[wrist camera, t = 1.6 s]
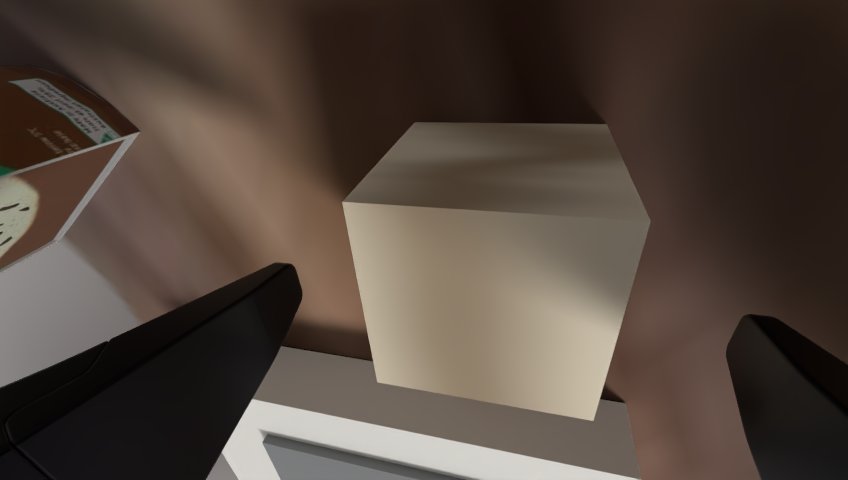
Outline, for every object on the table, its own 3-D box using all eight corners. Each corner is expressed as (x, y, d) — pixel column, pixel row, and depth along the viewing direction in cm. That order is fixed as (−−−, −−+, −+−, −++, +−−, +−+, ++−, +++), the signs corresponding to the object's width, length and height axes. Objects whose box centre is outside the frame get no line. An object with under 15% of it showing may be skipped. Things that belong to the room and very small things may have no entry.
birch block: (606, 123, 10) (650, 221, 6) (577, 279, 13) (593, 420, 8) (415, 121, 11) (341, 202, 7) (425, 264, 14) (377, 382, 10)
